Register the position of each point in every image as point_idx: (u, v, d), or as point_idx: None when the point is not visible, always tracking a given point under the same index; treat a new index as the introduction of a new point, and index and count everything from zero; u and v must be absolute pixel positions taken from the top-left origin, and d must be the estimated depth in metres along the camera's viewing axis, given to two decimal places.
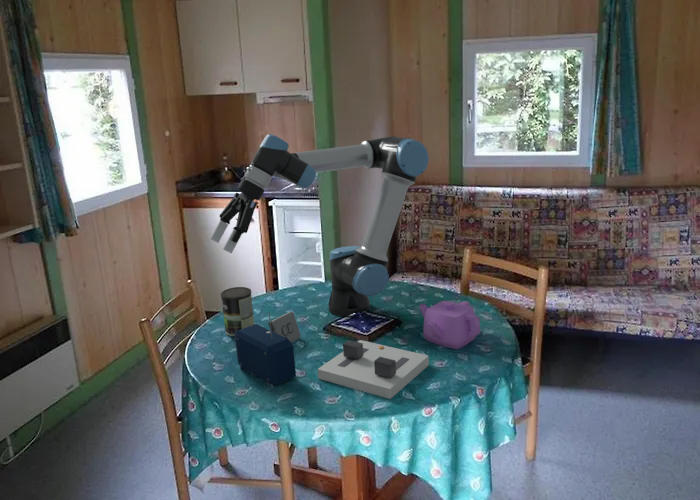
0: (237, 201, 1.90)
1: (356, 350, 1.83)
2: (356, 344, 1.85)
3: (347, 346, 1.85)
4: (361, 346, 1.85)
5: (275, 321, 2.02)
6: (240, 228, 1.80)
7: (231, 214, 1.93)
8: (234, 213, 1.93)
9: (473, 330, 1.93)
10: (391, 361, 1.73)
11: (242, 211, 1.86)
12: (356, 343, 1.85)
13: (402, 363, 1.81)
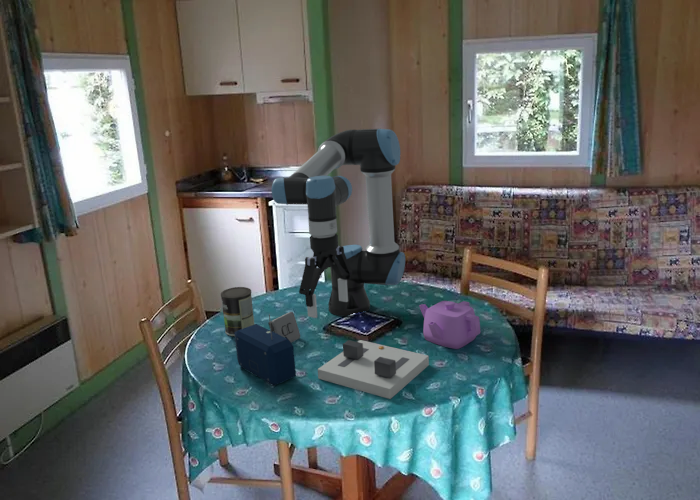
0: None
1: (356, 350, 1.83)
2: (356, 344, 1.85)
3: (347, 346, 1.85)
4: (361, 346, 1.85)
5: (275, 321, 2.02)
6: None
7: None
8: None
9: (473, 330, 1.93)
10: (391, 361, 1.73)
11: None
12: (356, 343, 1.85)
13: (402, 363, 1.81)
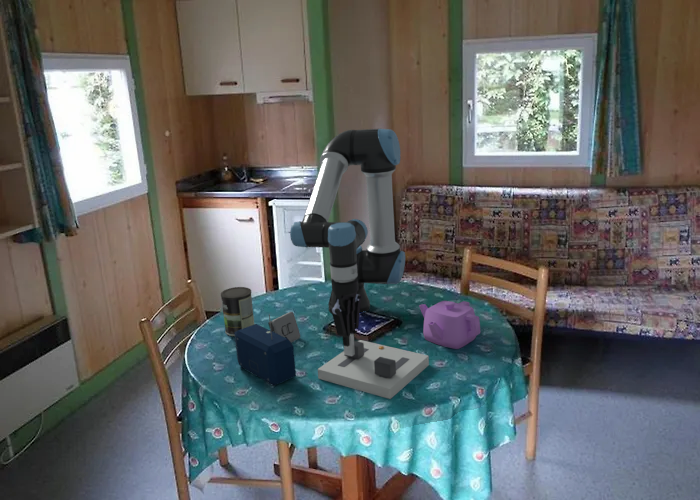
0: None
1: (357, 350, 1.83)
2: (357, 343, 1.85)
3: None
4: (362, 345, 1.85)
5: (275, 321, 2.02)
6: None
7: None
8: None
9: (473, 330, 1.93)
10: (391, 361, 1.73)
11: None
12: (357, 342, 1.86)
13: (402, 363, 1.81)
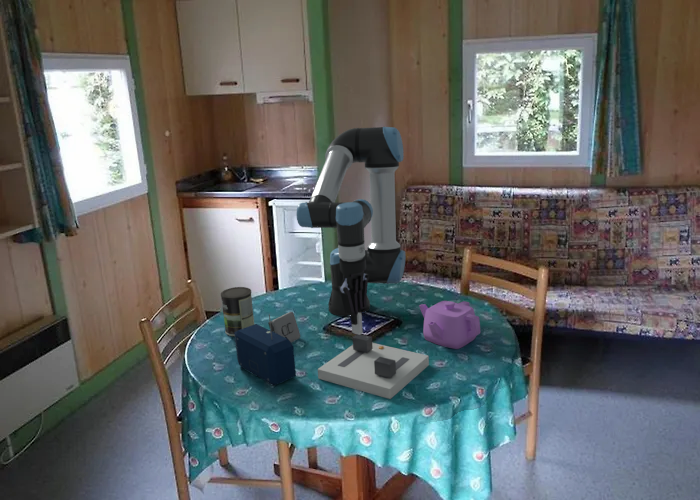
0: None
1: (366, 344, 1.87)
2: (366, 337, 1.89)
3: (357, 339, 1.89)
4: (370, 339, 1.89)
5: (275, 321, 2.02)
6: None
7: None
8: None
9: (473, 330, 1.93)
10: (391, 361, 1.73)
11: None
12: (365, 336, 1.89)
13: (402, 363, 1.81)
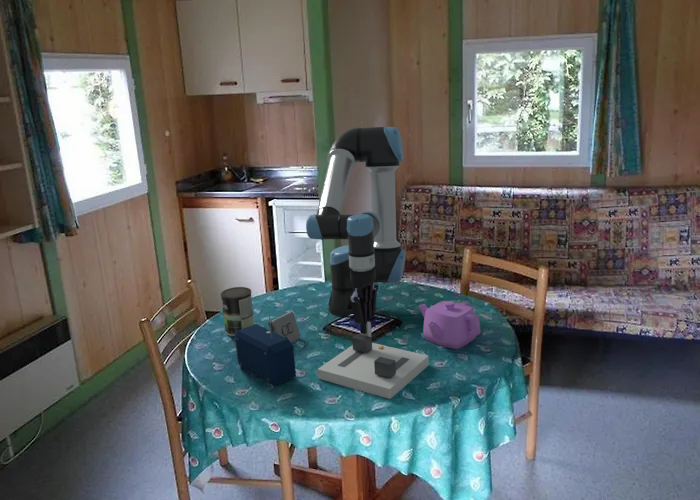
0: None
1: (365, 344, 1.87)
2: (365, 337, 1.89)
3: (356, 340, 1.89)
4: (370, 340, 1.89)
5: (275, 321, 2.02)
6: None
7: None
8: None
9: (473, 330, 1.93)
10: (391, 361, 1.73)
11: None
12: (365, 337, 1.89)
13: (402, 363, 1.81)
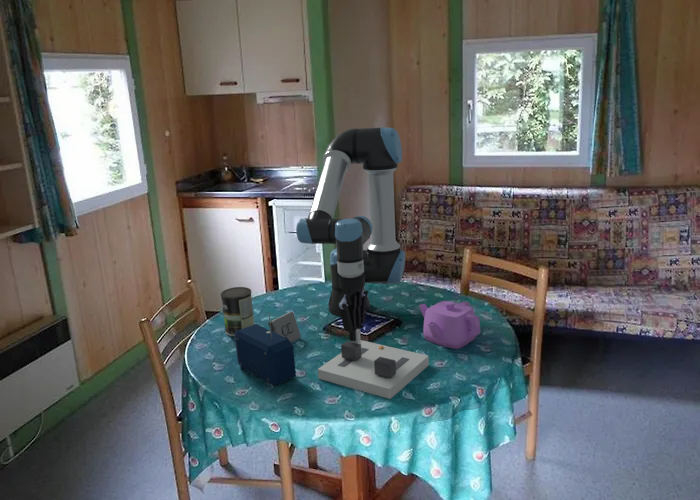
0: None
1: (354, 352, 1.82)
2: (354, 345, 1.84)
3: (345, 347, 1.84)
4: (359, 347, 1.84)
5: (275, 321, 2.02)
6: None
7: None
8: None
9: (473, 330, 1.93)
10: (391, 361, 1.73)
11: None
12: (354, 344, 1.85)
13: (402, 363, 1.81)
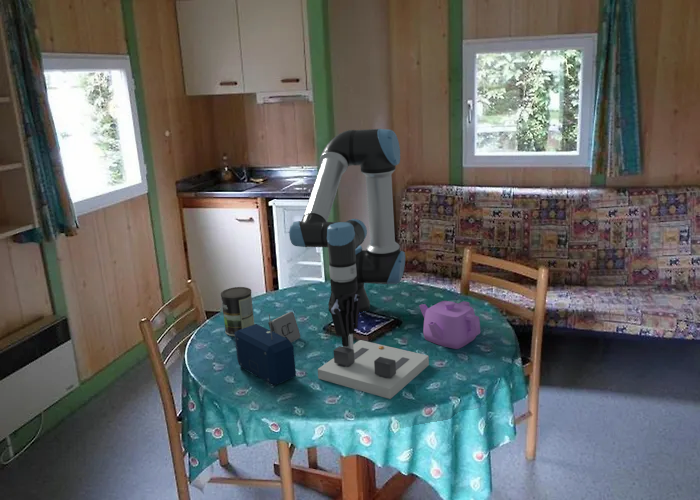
0: None
1: (347, 357, 1.79)
2: (347, 350, 1.81)
3: (338, 352, 1.81)
4: (352, 352, 1.81)
5: (275, 321, 2.02)
6: None
7: None
8: None
9: (473, 330, 1.93)
10: (391, 361, 1.73)
11: None
12: (347, 349, 1.82)
13: (402, 363, 1.81)
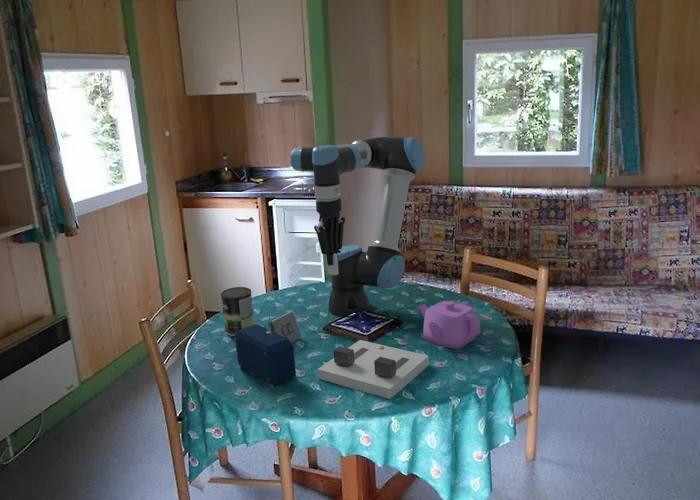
0: None
1: (347, 357, 1.79)
2: (347, 350, 1.81)
3: (338, 352, 1.81)
4: (352, 352, 1.81)
5: (275, 321, 2.02)
6: None
7: None
8: None
9: (473, 330, 1.93)
10: (391, 361, 1.73)
11: None
12: (347, 349, 1.82)
13: (402, 363, 1.81)
